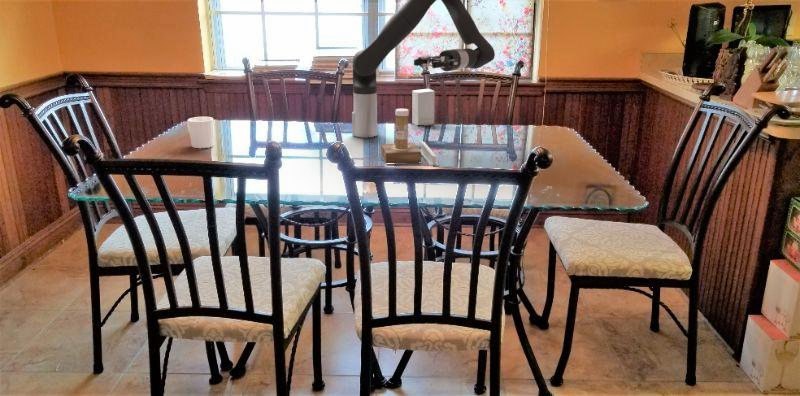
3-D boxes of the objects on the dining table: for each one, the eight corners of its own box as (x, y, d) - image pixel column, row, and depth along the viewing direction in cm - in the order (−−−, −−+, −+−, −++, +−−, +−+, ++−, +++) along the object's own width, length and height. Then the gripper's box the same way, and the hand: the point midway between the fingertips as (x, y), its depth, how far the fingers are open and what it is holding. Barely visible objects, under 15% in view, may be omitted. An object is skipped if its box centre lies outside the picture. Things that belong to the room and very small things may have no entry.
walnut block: (381, 155, 226) (381, 143, 225) (414, 154, 228) (414, 142, 227) (386, 164, 215) (386, 152, 214) (420, 163, 217) (421, 151, 216)
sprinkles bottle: (392, 147, 220) (392, 109, 216) (400, 145, 223) (401, 107, 219) (402, 150, 217) (403, 111, 213) (410, 147, 221) (411, 109, 216)
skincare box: (428, 122, 278) (429, 88, 273) (434, 125, 273) (435, 90, 268) (411, 123, 275) (411, 89, 270) (417, 126, 270) (418, 91, 265)
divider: (418, 150, 233) (418, 141, 231) (426, 150, 233) (426, 141, 232) (430, 166, 214) (430, 156, 213) (438, 165, 214) (438, 155, 213)
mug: (220, 145, 238) (218, 118, 235) (204, 150, 230) (201, 122, 227) (197, 141, 242) (195, 115, 239) (181, 147, 235) (178, 119, 231)
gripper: (439, 47, 233) (408, 50, 222) (469, 50, 224) (439, 54, 213) (438, 68, 236) (408, 72, 225) (468, 72, 226) (439, 77, 215)
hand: (423, 63), depth 219 cm, fingers open, 8 cm apart
